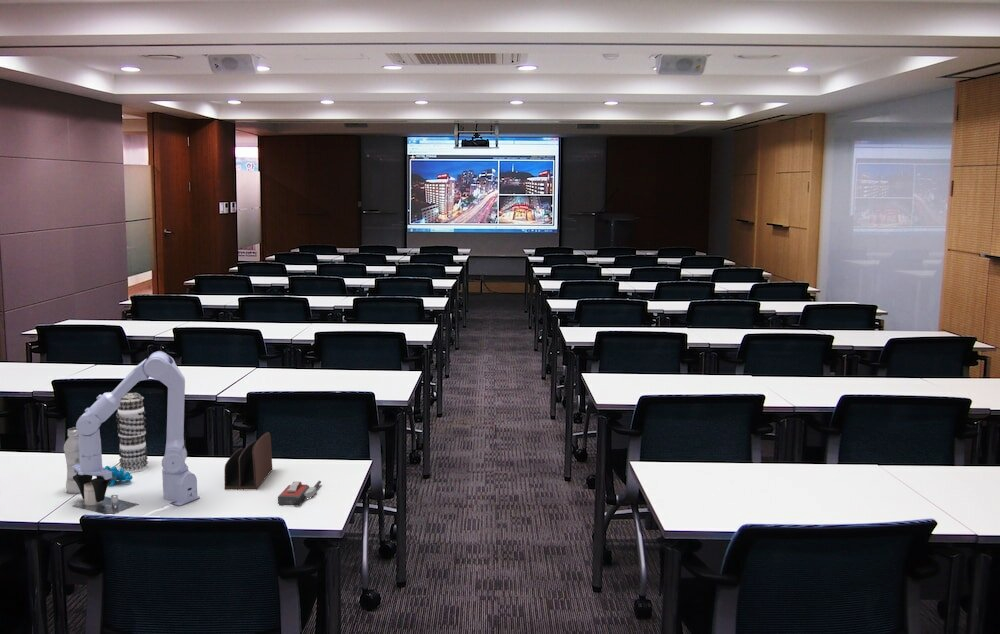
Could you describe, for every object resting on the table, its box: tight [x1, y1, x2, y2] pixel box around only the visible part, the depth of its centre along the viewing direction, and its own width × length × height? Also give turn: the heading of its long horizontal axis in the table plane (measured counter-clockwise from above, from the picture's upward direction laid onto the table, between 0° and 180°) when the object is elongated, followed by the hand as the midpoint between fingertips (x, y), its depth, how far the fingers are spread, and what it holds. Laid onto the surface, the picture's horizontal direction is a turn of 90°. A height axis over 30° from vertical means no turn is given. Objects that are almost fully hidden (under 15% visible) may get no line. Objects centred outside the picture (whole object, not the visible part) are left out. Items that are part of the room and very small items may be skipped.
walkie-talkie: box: [277, 480, 322, 506], centre depth 265 cm, size 9×4×20 cm
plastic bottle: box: [63, 427, 81, 495], centre depth 264 cm, size 6×7×20 cm
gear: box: [104, 465, 134, 488], centre depth 271 cm, size 11×6×10 cm
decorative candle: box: [115, 392, 149, 473], centre depth 288 cm, size 9×9×25 cm
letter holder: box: [224, 431, 274, 491], centre depth 279 cm, size 10×20×14 cm, turn 0°
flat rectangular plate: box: [71, 494, 140, 515], centre depth 253 cm, size 16×10×4 cm, turn 63°
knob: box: [83, 482, 102, 505], centre depth 255 cm, size 4×4×6 cm
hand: (93, 499), depth 255 cm, fingers open, 5 cm apart
